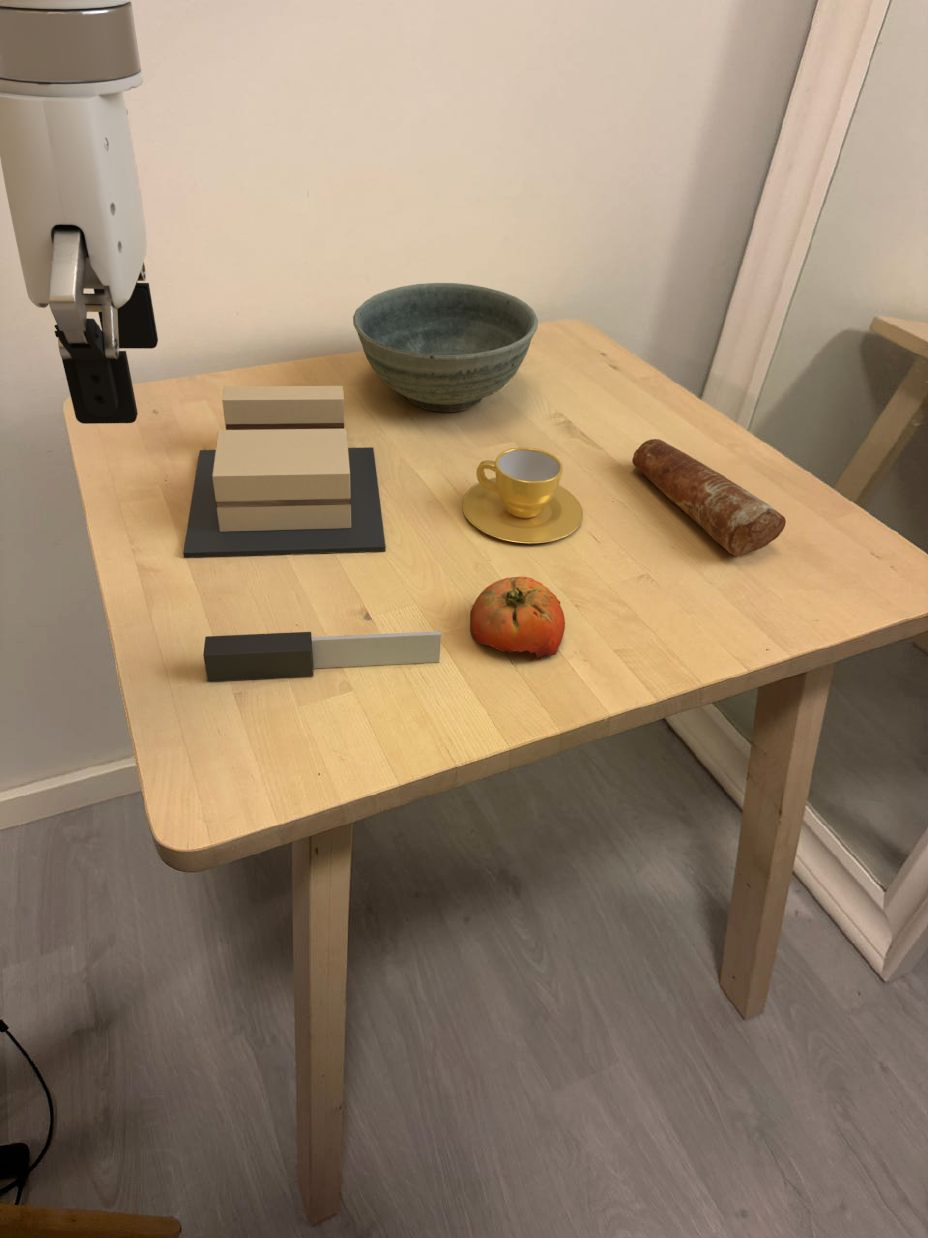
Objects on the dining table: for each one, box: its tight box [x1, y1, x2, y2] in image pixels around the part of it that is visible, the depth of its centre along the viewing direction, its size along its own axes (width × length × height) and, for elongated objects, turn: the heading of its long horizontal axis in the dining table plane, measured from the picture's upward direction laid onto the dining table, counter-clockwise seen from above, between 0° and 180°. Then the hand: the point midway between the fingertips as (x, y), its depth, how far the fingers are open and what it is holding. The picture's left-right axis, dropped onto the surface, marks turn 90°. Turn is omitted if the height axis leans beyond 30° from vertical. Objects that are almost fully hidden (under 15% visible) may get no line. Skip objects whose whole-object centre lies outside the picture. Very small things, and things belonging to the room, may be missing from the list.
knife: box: [202, 630, 442, 683], centre depth 70 cm, size 18×2×3 cm, turn 98°
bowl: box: [352, 282, 539, 413], centre depth 105 cm, size 21×21×10 cm
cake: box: [182, 428, 387, 559], centre depth 87 cm, size 18×18×7 cm
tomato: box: [469, 576, 566, 662], centre depth 75 cm, size 8×7×7 cm
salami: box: [631, 438, 787, 557], centre depth 90 cm, size 6×19×6 cm, turn 25°
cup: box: [461, 446, 584, 544], centre depth 88 cm, size 12×12×5 cm
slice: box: [221, 385, 346, 430], centre depth 94 cm, size 12×3×6 cm, turn 98°
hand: (121, 381), depth 54 cm, fingers open, 9 cm apart
